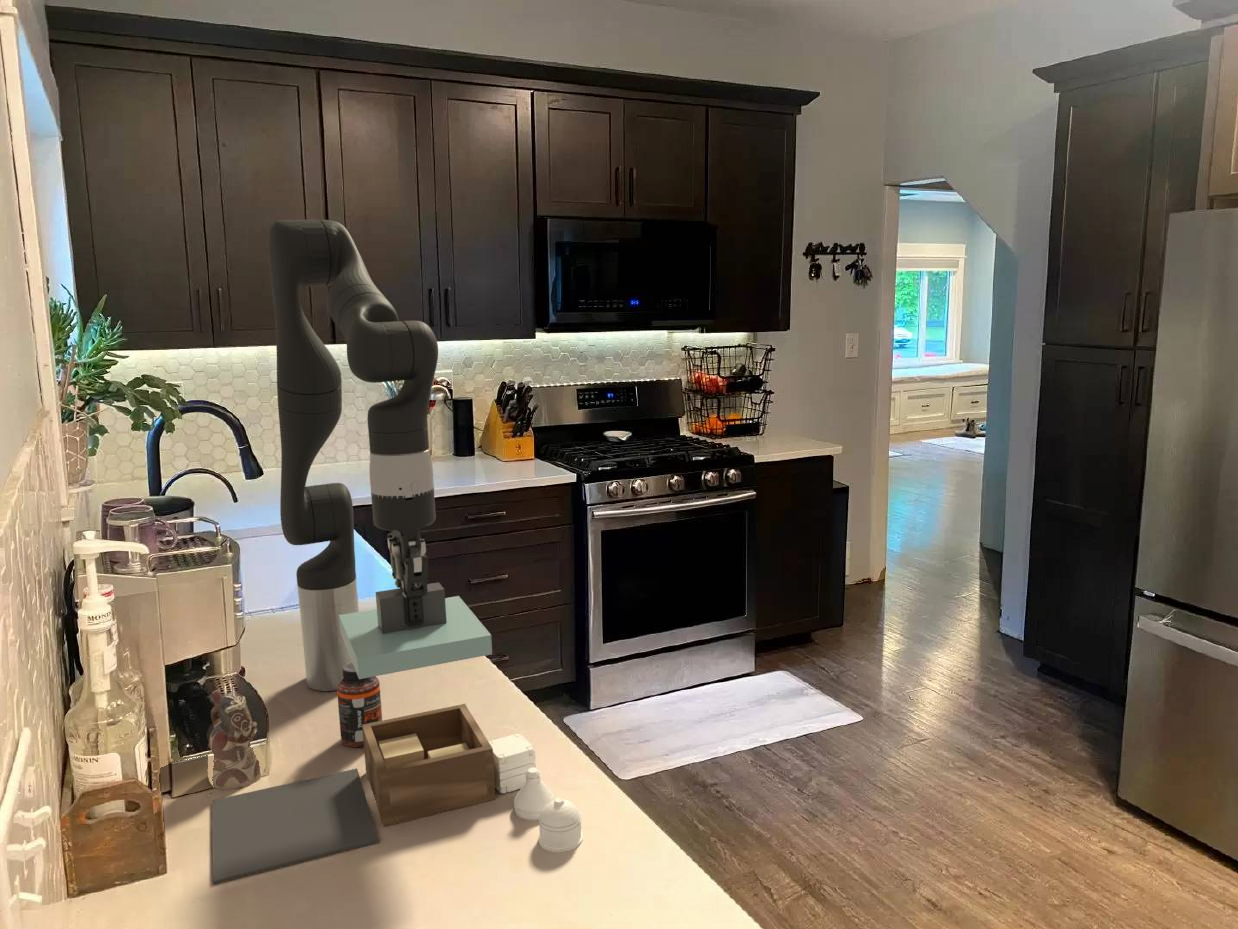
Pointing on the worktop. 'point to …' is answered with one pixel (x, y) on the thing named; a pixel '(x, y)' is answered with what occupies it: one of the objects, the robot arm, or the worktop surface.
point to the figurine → (232, 742)
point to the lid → (412, 634)
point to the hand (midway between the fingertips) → (412, 619)
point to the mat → (290, 824)
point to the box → (427, 764)
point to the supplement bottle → (357, 705)
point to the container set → (535, 794)
